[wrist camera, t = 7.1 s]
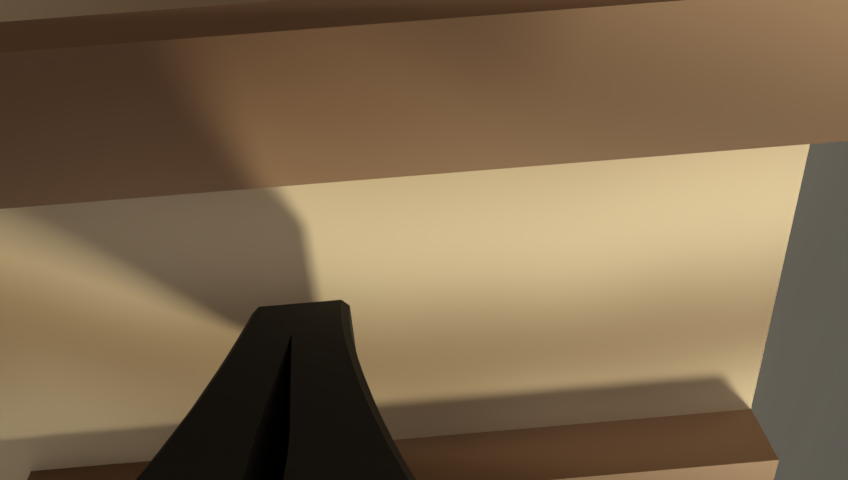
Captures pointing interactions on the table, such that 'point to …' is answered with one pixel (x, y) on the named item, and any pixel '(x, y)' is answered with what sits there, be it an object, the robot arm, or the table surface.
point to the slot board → (410, 219)
